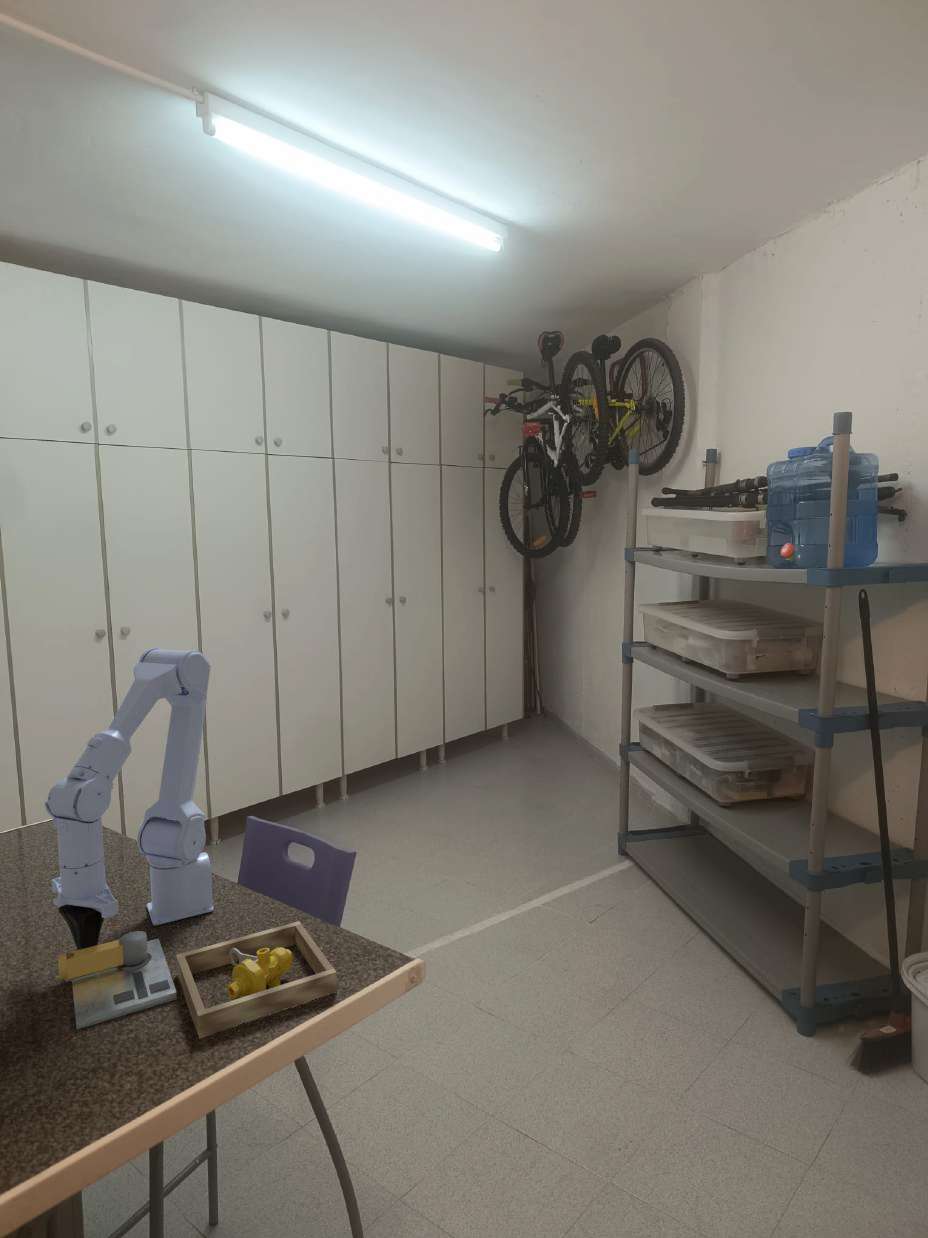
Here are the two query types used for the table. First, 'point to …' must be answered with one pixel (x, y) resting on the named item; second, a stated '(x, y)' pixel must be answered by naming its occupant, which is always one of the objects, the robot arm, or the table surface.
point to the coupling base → (123, 989)
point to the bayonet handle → (104, 956)
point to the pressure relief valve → (258, 970)
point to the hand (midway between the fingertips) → (87, 950)
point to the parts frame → (262, 1001)
